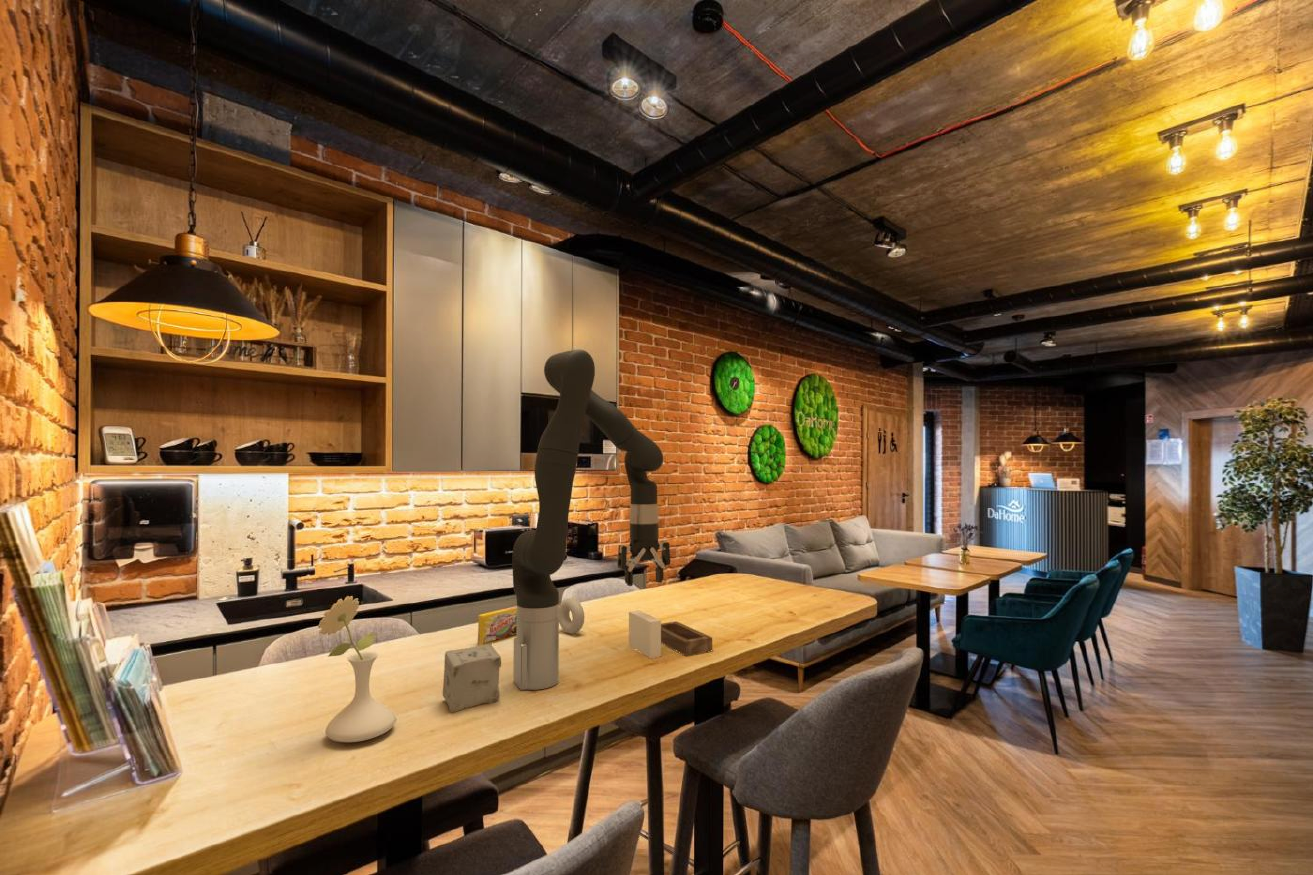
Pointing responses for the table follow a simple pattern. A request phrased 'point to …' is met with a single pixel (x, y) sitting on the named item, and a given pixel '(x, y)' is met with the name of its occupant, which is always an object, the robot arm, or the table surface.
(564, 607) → the donut
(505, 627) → the candy box
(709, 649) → the brown rectangular tray
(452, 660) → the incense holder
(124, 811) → the table surface
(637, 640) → the white rectangular block
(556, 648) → the robot arm
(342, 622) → the flower in vase
